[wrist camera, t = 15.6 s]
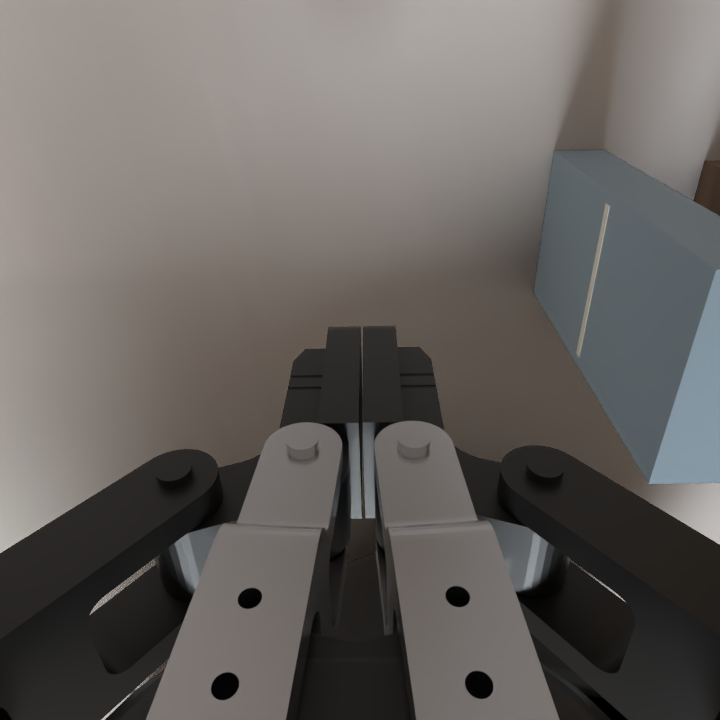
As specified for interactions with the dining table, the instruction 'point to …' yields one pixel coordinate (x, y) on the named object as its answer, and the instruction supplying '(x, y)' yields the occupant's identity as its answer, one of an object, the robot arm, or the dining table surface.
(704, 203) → the tile
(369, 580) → the bowl of black rocks
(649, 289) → the tile
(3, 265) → the dining table surface
